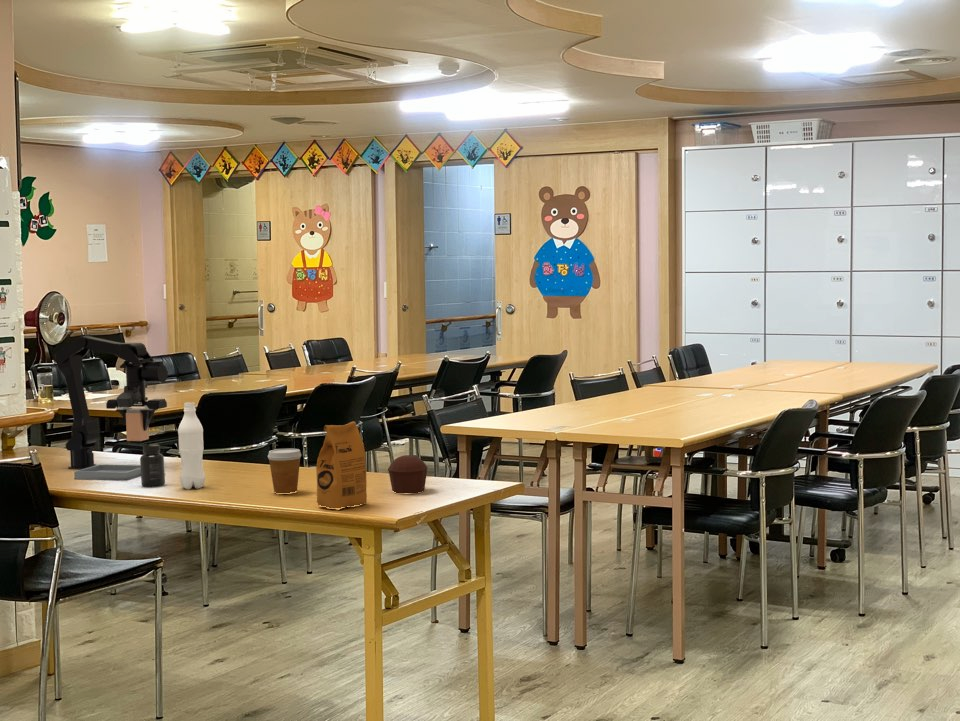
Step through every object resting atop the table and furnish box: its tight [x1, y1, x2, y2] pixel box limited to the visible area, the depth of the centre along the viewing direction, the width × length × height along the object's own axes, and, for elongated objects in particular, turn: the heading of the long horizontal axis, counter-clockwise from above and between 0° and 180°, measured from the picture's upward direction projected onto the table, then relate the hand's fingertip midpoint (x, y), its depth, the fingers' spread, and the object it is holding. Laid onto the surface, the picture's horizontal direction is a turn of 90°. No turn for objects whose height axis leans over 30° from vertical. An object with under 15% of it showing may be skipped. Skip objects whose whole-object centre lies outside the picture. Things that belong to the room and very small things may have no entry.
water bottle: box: [177, 401, 206, 490], centre depth 344 cm, size 7×7×25 cm
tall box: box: [125, 407, 150, 442], centre depth 380 cm, size 5×5×10 cm
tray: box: [73, 463, 141, 481], centre depth 369 cm, size 18×14×2 cm
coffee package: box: [315, 421, 368, 508], centre depth 311 cm, size 10×12×22 cm
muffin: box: [387, 454, 429, 494], centre depth 331 cm, size 12×11×10 cm
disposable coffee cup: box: [267, 448, 302, 493], centre depth 333 cm, size 10×10×12 cm
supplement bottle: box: [139, 444, 166, 488], centre depth 350 cm, size 7×7×12 cm
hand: (137, 430), depth 380 cm, fingers closed on tall box, 5 cm apart
